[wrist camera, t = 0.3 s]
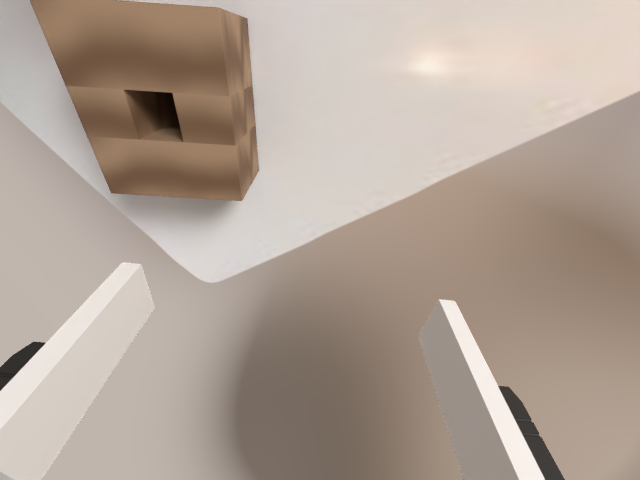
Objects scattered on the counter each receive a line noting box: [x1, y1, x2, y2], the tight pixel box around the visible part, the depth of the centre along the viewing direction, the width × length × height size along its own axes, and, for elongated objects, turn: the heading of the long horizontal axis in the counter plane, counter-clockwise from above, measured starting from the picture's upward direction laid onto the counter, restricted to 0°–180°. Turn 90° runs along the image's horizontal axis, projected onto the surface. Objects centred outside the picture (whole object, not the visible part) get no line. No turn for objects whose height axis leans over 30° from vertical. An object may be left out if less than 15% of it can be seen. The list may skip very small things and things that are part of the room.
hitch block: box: [30, 0, 259, 201], centre depth 28 cm, size 16×14×9 cm
